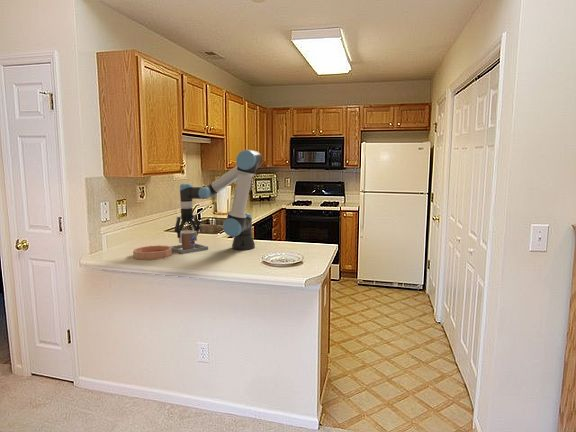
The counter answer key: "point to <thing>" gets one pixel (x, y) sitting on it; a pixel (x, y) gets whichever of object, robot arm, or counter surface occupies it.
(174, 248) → the tray
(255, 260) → the counter surface
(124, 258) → the counter surface
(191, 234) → the coffee cup
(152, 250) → the terracotta bowl
